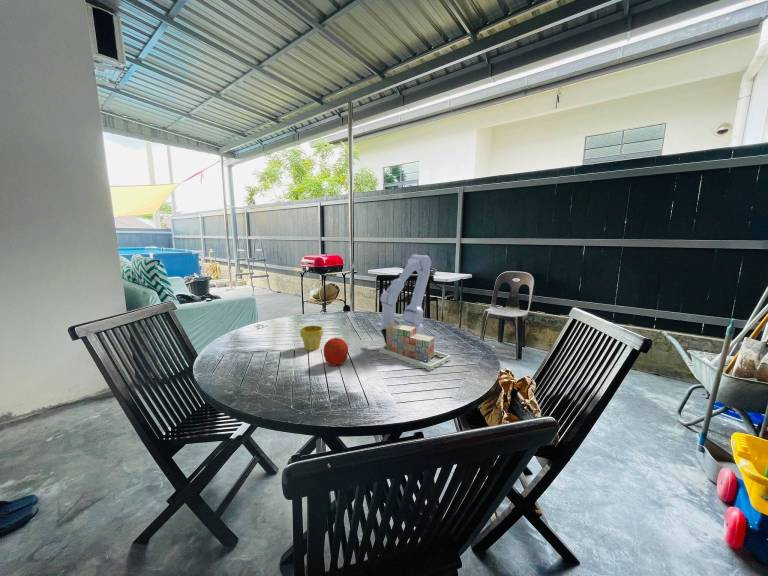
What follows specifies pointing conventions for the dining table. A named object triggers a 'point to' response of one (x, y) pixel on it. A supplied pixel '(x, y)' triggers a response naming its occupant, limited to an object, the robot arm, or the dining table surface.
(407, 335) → the stack of blocks
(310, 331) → the plant pot
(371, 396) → the dining table surface
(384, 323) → the robot arm
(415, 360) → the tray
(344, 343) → the apple
